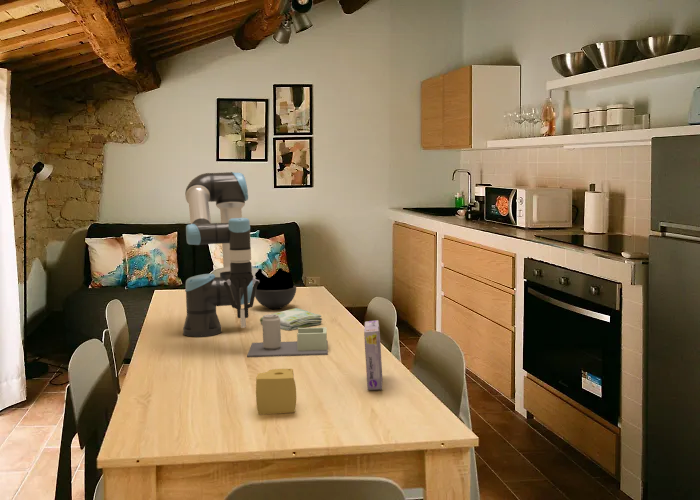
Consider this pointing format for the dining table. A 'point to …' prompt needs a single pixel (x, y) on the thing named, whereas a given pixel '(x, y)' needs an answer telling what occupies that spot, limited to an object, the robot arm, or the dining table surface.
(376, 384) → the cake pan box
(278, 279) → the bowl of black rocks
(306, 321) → the towel
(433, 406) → the dining table surface
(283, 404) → the cheese
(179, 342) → the dining table surface
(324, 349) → the mount
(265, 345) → the beverage can
